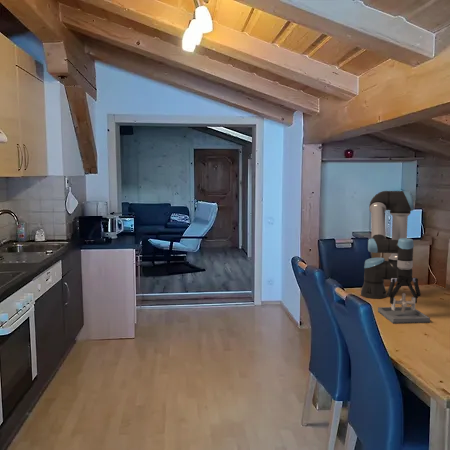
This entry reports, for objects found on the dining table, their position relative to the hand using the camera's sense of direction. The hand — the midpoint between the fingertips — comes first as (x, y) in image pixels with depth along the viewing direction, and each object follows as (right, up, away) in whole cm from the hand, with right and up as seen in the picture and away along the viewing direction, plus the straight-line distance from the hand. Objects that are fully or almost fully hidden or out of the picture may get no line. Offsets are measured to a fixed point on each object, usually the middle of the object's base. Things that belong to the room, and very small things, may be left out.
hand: (403, 309), depth 243 cm
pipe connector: (0, -1, 0) cm, 1 cm away
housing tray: (0, -4, 0) cm, 4 cm away
